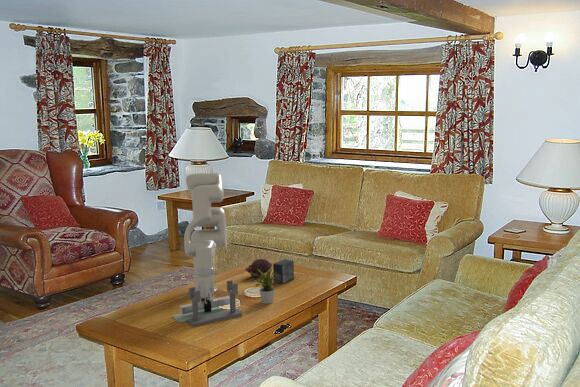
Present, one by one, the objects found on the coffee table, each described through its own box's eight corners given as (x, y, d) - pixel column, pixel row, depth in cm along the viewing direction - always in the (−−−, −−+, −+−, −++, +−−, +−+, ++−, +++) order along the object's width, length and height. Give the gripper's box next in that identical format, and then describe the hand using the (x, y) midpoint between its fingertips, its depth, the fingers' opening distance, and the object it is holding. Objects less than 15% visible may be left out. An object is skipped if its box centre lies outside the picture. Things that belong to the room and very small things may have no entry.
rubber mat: (172, 316, 271) (172, 315, 271) (230, 304, 286) (230, 302, 286) (180, 323, 263) (179, 321, 263) (239, 309, 278) (239, 308, 278)
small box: (284, 277, 326) (284, 258, 325) (294, 279, 323) (294, 260, 321) (272, 282, 318) (272, 263, 316) (282, 284, 314) (282, 265, 312)
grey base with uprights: (186, 322, 263) (185, 288, 261) (236, 311, 276) (235, 279, 273) (192, 327, 258) (190, 292, 256) (242, 315, 271) (241, 282, 268)
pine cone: (266, 271, 337) (266, 254, 335) (278, 275, 330) (278, 257, 328) (241, 278, 325) (241, 260, 323) (253, 282, 318) (253, 264, 316)
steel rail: (179, 312, 269) (179, 305, 269) (228, 301, 282) (228, 295, 281) (182, 314, 267) (182, 307, 266) (231, 303, 279) (231, 297, 279)
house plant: (256, 295, 298) (255, 263, 295) (284, 296, 295) (283, 264, 293) (248, 305, 284) (247, 271, 282) (277, 306, 282) (276, 273, 279)
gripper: (189, 268, 276) (191, 306, 279) (204, 277, 263) (206, 317, 266) (205, 265, 280) (206, 303, 283) (220, 274, 266) (221, 314, 270)
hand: (206, 310), depth 274 cm, fingers closed on steel rail, 3 cm apart
